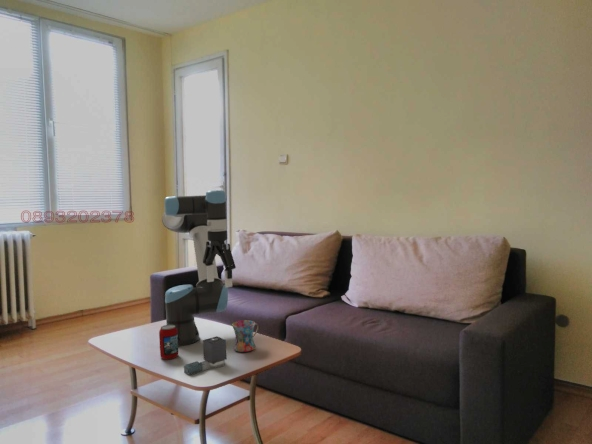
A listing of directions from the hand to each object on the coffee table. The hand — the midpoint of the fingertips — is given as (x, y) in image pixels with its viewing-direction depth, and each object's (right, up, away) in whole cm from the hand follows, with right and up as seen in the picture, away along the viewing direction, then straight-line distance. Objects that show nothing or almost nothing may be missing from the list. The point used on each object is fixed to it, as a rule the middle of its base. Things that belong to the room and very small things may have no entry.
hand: (219, 284), depth 175 cm
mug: (+11, -27, +4) cm, 29 cm away
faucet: (-2, -28, -14) cm, 32 cm away
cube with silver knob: (+1, -26, -12) cm, 28 cm away
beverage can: (-19, -28, -2) cm, 34 cm away
